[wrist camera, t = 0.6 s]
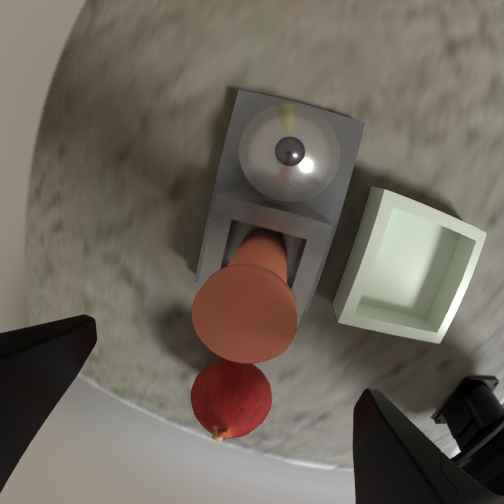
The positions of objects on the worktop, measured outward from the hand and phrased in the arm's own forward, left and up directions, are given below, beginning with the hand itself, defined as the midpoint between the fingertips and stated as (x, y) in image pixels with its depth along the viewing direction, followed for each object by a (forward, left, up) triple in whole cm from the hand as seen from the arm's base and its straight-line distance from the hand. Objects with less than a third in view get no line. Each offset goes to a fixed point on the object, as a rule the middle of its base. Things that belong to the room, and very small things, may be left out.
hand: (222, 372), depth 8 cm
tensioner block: (0, -4, -12) cm, 13 cm away
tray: (-10, -2, -12) cm, 16 cm away
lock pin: (0, -1, -11) cm, 11 cm away
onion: (-1, +10, -12) cm, 16 cm away
